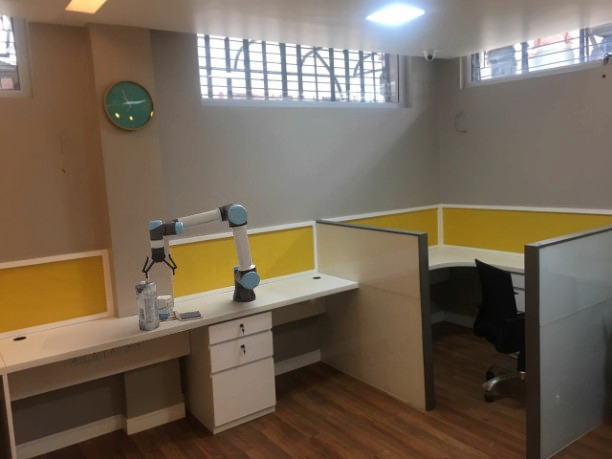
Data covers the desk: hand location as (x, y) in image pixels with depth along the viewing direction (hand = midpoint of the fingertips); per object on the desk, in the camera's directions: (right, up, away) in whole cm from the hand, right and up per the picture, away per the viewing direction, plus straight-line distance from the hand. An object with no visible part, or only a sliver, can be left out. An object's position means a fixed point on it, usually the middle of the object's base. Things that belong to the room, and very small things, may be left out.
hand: (161, 282), depth 318 cm
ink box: (+1, -21, +3) cm, 21 cm away
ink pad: (+17, -21, +2) cm, 27 cm away
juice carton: (-2, -25, -16) cm, 29 cm away
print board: (+1, -22, +3) cm, 22 cm away
